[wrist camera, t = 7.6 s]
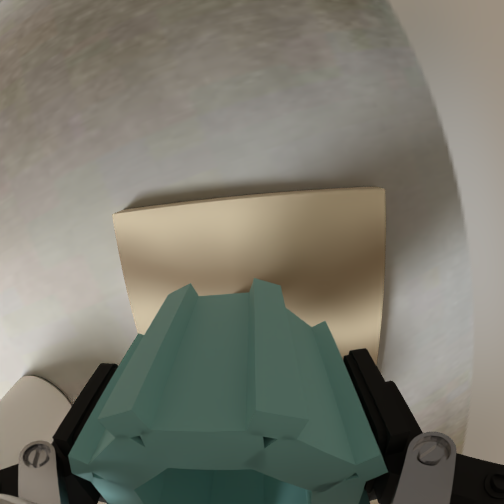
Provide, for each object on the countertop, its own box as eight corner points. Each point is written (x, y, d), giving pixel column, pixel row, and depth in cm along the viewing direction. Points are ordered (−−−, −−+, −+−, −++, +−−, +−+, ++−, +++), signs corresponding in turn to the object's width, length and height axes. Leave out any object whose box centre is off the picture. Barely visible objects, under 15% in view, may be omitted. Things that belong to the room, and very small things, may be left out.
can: (58, 374, 20) (-18, 481, 9) (90, 431, 22) (41, 535, 10) (9, 370, 20) (-63, 453, 9) (40, 424, 22) (-13, 509, 11)
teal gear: (118, 287, 10) (21, 394, 5) (335, 270, 10) (414, 385, 4) (164, 435, 12) (135, 543, 7) (329, 427, 12) (357, 541, 6)
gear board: (122, 209, 17) (68, 233, 11) (374, 186, 16) (429, 200, 11) (187, 454, 22) (176, 511, 16) (356, 441, 22) (373, 496, 16)
